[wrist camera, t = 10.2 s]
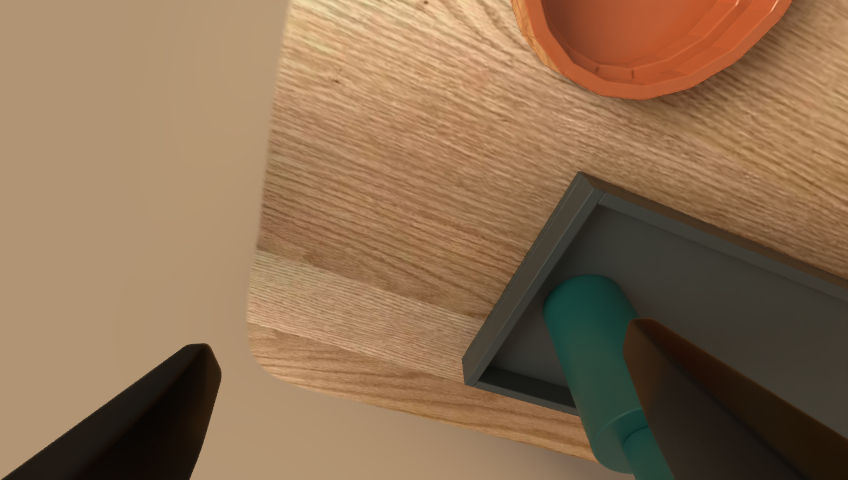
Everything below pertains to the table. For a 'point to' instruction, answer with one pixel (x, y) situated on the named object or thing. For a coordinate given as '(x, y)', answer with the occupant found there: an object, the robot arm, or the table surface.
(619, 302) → the bottle
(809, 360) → the tray
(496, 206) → the table surface
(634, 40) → the bowl
